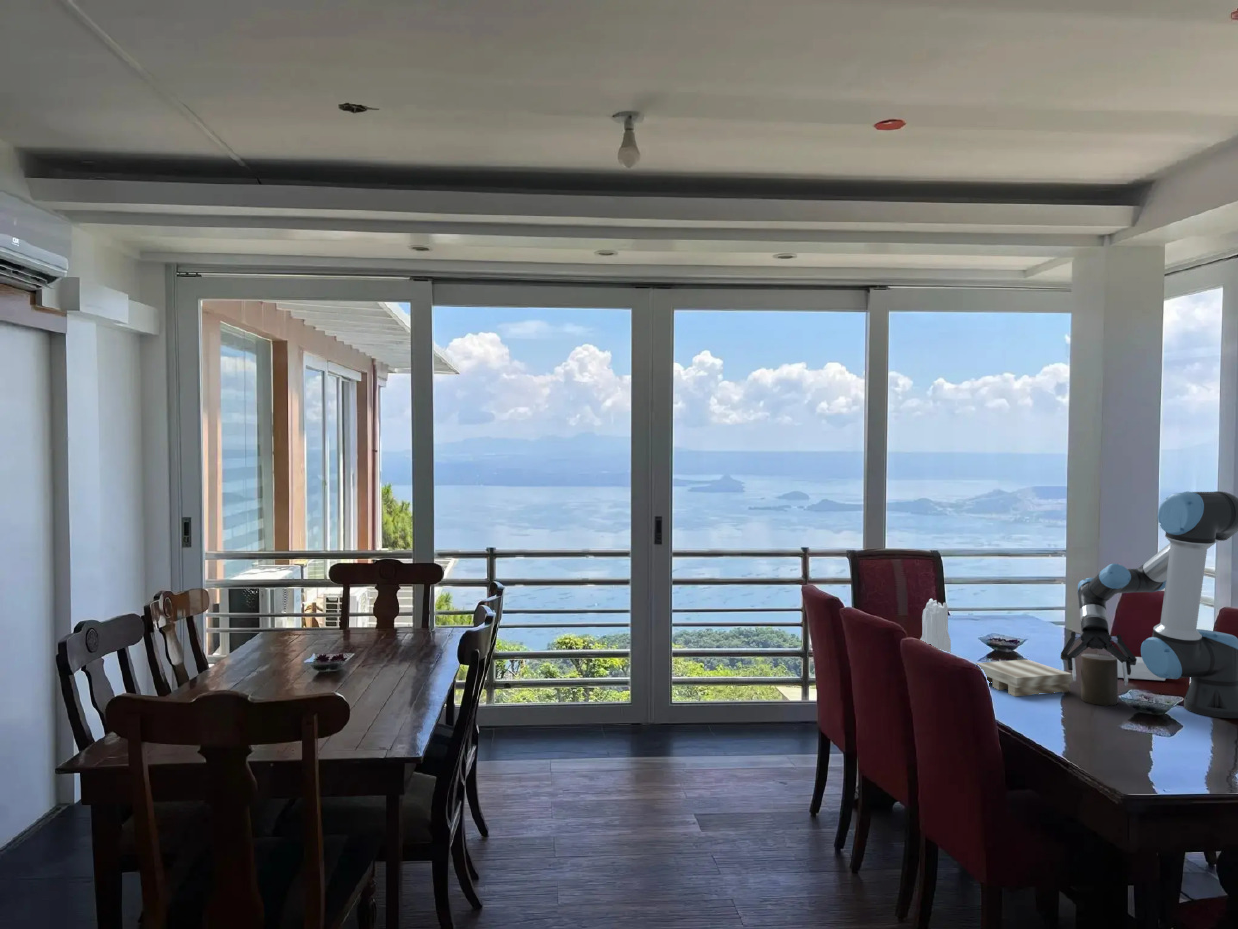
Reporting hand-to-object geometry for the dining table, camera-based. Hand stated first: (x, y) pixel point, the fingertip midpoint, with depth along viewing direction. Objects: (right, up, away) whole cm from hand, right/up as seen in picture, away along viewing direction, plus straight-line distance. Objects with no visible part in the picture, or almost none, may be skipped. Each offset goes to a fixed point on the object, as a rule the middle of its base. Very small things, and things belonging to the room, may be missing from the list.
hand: (1100, 681), depth 251 cm
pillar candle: (+1, -7, +2) cm, 7 cm away
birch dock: (-14, -7, +19) cm, 25 cm away
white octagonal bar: (+27, -7, +30) cm, 41 cm away
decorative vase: (-34, -7, +40) cm, 53 cm away
